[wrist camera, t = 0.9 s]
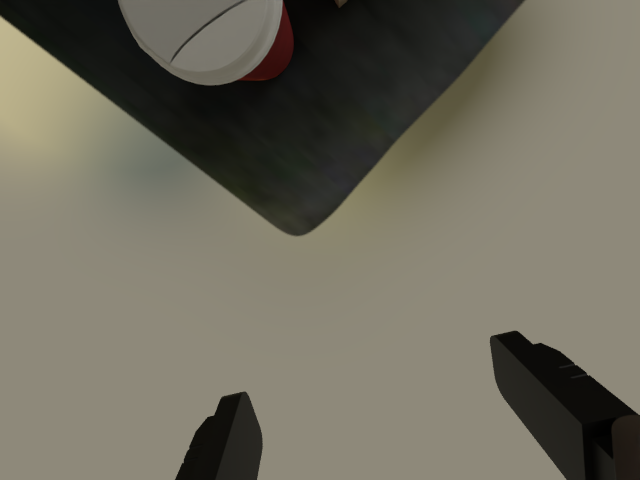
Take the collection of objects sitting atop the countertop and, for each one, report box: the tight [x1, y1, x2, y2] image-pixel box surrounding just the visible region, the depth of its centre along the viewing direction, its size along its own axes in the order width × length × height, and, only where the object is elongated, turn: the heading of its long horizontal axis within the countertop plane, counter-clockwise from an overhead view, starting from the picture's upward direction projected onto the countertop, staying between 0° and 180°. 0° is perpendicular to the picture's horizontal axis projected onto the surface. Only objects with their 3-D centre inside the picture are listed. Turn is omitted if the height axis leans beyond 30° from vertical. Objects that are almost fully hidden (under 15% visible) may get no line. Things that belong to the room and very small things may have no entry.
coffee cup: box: [118, 0, 294, 85], centre depth 22 cm, size 8×8×15 cm
